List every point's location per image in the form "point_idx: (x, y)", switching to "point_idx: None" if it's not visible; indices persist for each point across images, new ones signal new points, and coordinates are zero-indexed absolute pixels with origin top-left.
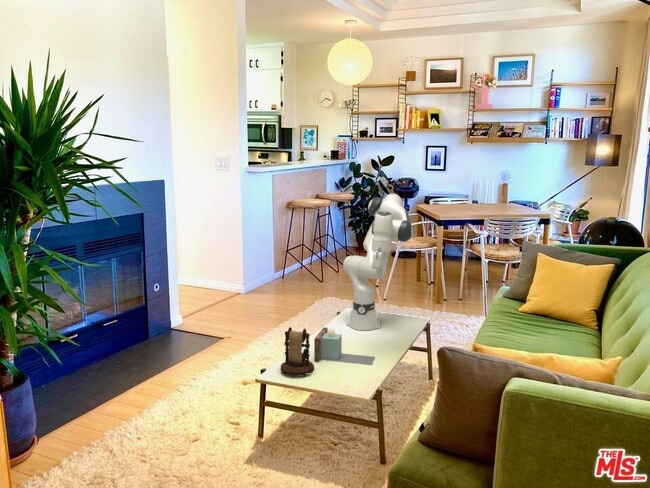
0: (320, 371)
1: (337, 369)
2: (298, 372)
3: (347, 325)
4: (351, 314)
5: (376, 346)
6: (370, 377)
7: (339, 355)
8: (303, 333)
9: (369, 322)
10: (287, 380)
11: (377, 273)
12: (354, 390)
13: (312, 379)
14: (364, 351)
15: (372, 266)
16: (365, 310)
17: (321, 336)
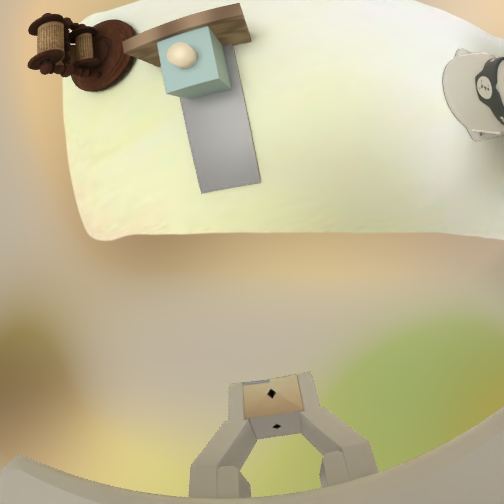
0: (124, 95)
1: (150, 122)
2: (73, 81)
3: (457, 50)
4: (476, 56)
5: (351, 156)
6: (149, 211)
7: (204, 94)
8: (34, 64)
9: (468, 112)
10: None
11: (226, 427)
12: (88, 206)
13: (87, 108)
14: (299, 135)
15: (5, 467)
16: (487, 100)
17: (158, 40)
